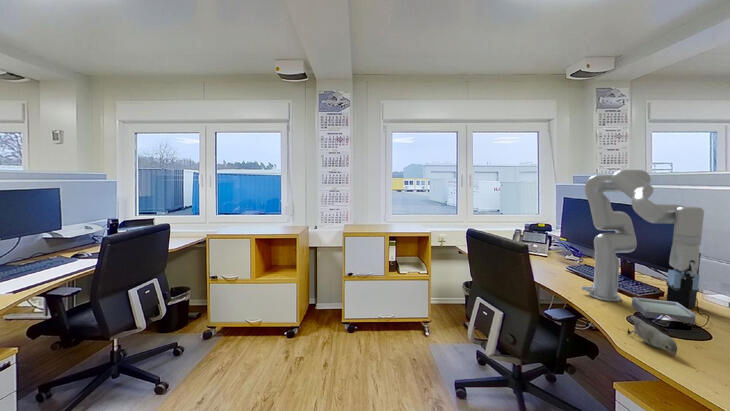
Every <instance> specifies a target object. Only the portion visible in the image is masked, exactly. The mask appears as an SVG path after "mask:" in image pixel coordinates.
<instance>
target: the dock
mask: <svg viewBox="0 0 730 411" xmlns="http://www.w3.org/2000/svg"><path fill="white" fill-rule="evenodd" d="M631 299H632V300H631V307H632V308H633V309H634V310H635V311H637V312H638V313H639V312H640V313H641V314H643V315H644V316H658V315H668V316H672V317H675V318H678V319H681V320H683V321H685V322H687V323H690V324H689V325H692V324H693V326H695V325H696V315H697V314H695V313H694V312H692V311H691V310H690V309H687V308H685V307H684V306H682V305H681V304H679V303H678V302H671V301H667V300H659V299H652V298H645V297H635V296H633V297H632V298H631ZM640 313H639V314H640ZM641 314H640V315H641Z"/></svg>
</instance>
